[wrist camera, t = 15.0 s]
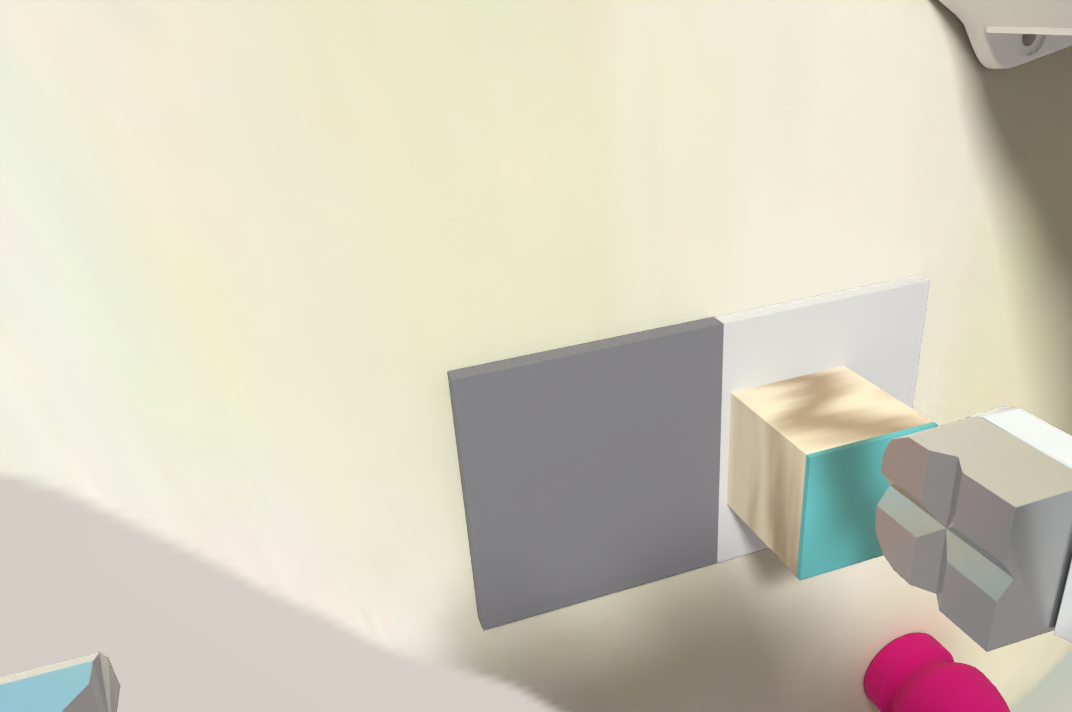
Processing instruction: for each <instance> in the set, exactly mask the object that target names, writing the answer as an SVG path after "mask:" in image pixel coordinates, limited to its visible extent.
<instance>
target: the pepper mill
mask: <svg viewBox="0 0 1072 712" xmlns="http://www.w3.org/2000/svg"><path fill="white" fill-rule="evenodd" d="M864 686H865V692H866V695H867V696H868V698H869V699H870V700H871V701H872V702H873V703H874V704H875V705H876V706H877V708H878V709H879V710H880V711H881V712H1010V710H1009V708H1008V706H1007V704H1006V702H1005V700H1004V699H1003V697H1002V696H1001V694H1000V693H999V691H998V690H997V688H996V687H995V686H994V685H993V684H992V683H991V682H990V681H989V679H988V678H987V677H986V676H985V675H984V674H983V673H982V672H981V671H979V670H978V669H976V668H975V667H972V666H970V665H967V664H963V663H957V662H954V660H953V657H952V655H951V654H950V653H949V652H948V651H947V650H946V649H945V648H944V647H943V646H942V645H941V644H940V643H939V642H938V641H937V640H936V639H935V638H933V637H932V636H930V635H928V634H925V633H912V634H907V635H904V636H902V637H900V638H897V639H895V640H894V641H892V642H891V643H889V644H888V645H887V646H886V647H884V648H883V649H882V650H881V651H880V652H879V653H878V654H877V656H876V657H875V658H874V660H873V661H872V662H871V664H870V666H869V668H868V670H867V672H866V676H865V680H864Z"/></svg>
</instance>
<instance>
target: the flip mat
mask: <svg viewBox="0 0 1072 712" xmlns="http://www.w3.org/2000/svg"><path fill="white" fill-rule="evenodd" d="M929 285H930V281H929V280H927V279H925V278H922V277H920V276H918V275H915V276H910V277H906V278H901V279H896V280H891V281H886V282H881V283H876V284H871V285H867V286H862V287H857V288H852V289H847V290H842V291H837V292H832V293H828V294H823V295H818V296H813V297H808V298H803V299H798V300H793V301H789V302H784V303H779V304H774V305H769V306H764V307H759V308H754V309H750V310H745V311H740V312H735V313H730V314H725V315H720V316H715V317H711V318H706V319H701V320H696V321H691V322H686V323H681V324H676V325H672V326H667V327H662V328H657V329H652V330H647V331H642V332H637V333H633V334H628V335H623V336H618V337H613V338H608V339H603V340H598V341H594V342H589V343H584V344H579V345H574V346H569V347H564V348H559V349H555V350H550V351H545V352H540V353H535V354H530V355H525V356H520V357H516V358H511V359H506V360H501V361H496V362H491V363H486V364H482V365H477V366H472V367H467V368H462V369H457V370H452V371H447V372H448V380H449V388H450V396H451V404H452V412H453V420H454V428H455V436H456V444H457V452H458V460H459V468H460V476H461V483H462V491H463V499H464V507H465V515H466V523H467V531H468V539H469V547H470V555H471V563H472V571H473V579H474V587H475V595H476V603H477V611H478V618H479V621H480V623H481V626H482V628H483V630H487V629H490V628H494V627H497V626H501V625H504V624H508V623H511V622H514V621H518V620H521V619H525V618H528V617H532V616H535V615H539V614H542V613H546V612H549V611H552V610H556V609H559V608H563V607H566V606H570V605H573V604H577V603H580V602H584V601H587V600H591V599H594V598H597V597H601V596H604V595H608V594H611V593H615V592H618V591H622V590H625V589H629V588H632V587H635V586H639V585H642V584H646V583H649V582H653V581H656V580H660V579H663V578H667V577H670V576H673V575H677V574H680V573H684V572H687V571H691V570H694V569H698V568H701V567H705V566H708V565H712V564H715V563H718V562H722V561H725V560H729V559H732V558H736V557H739V556H743V555H746V554H750V553H753V552H756V551H760V550H763V549H767V548H769V547H768V546H767V545H766V544H765V543H764V542H763V541H762V540H761V539H760V538H759V537H758V536H757V535H756V534H755V533H754V532H753V530H752V529H751V528H750V527H749V526H748V525H747V524H746V523H745V522H744V521H743V520H742V519H741V518H740V517H739V516H738V515H737V514H736V513H735V512H734V511H733V510H732V508H731V507H730V506H729V505H728V504H727V479H728V451H729V422H730V393H731V392H734V391H739V390H743V389H747V388H752V387H756V386H760V385H765V384H769V383H773V382H778V381H782V380H786V379H791V378H795V377H800V376H804V375H808V374H813V373H817V372H821V371H826V370H830V369H834V368H839V367H843V366H845V367H847V368H848V369H850V370H852V371H853V372H855V373H856V374H858V375H860V376H861V377H863V378H864V379H866V380H868V381H869V382H871V383H872V384H874V385H875V386H877V387H879V388H880V389H882V390H883V391H885V392H887V393H888V394H890V395H891V396H893V397H895V398H896V399H898V400H899V401H901V402H902V403H904V404H906V405H907V406H909V407H910V408H912V409H913V402H914V394H915V387H916V380H917V373H918V365H919V358H920V351H921V343H922V336H923V329H924V321H925V314H926V307H927V299H928V292H929Z"/></svg>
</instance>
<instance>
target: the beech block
mask: <svg viewBox="0 0 1072 712" xmlns="http://www.w3.org/2000/svg"><path fill="white" fill-rule="evenodd" d="M934 427H938V425H937V424H936V423H934V422H933V421H931V420H929V419H928V418H926V417H925V416H923V415H922V414H920V413H918V412H917V411H915V410H914V409H912V408H910V407H909V406H907V405H906V404H904V403H902V402H901V401H899V400H898V399H896V398H895V397H893V396H891V395H890V394H888V393H887V392H885V391H883V390H882V389H880V388H879V387H877V386H875V385H874V384H872V383H871V382H869V381H868V380H866V379H864V378H863V377H861V376H860V375H858V374H856V373H855V372H853V371H852V370H850V369H848V368H847V367H845V366H843V367H839V368H834V369H830V370H826V371H821V372H817V373H813V374H808V375H804V376H800V377H795V378H791V379H786V380H782V381H778V382H773V383H769V384H765V385H760V386H756V387H752V388H747V389H743V390H739V391H734V392H731V393H730V422H729V451H728V479H727V504H728V505H729V506H730V507H731V508H732V510H733V511H734V512H735V513H736V514H737V515H738V516H739V517H740V518H741V519H742V520H743V521H744V522H745V523H746V524H747V525H748V526H749V527H750V528H751V529H752V530H753V532H754V533H755V534H756V535H757V536H758V537H759V538H760V539H761V540H762V541H763V542H764V543H765V544H766V545H767V546H768V547H769V548H770V549H771V550H772V551H773V553H774V554H775V555H776V556H777V557H778V558H779V559H780V560H781V561H782V562H783V563H784V564H785V565H786V566H787V567H788V568H789V569H790V570H791V571H792V572H793V573H794V575H795V576H796V577H797V578H798V579H799V580H803V579H806V578H810V577H813V576H816V575H820V574H823V573H826V572H830V571H833V570H836V569H840V568H843V567H846V566H850V565H853V564H856V563H859V562H863V561H866V560H869V559H873V558H876V557H879V556H883V553H882V550H881V547H880V544H879V541H878V538H877V535H876V531H875V524H876V510H877V504H878V503H879V501H880V500H881V498H882V497H883V495H884V494H885V492H886V491H887V489H888V488H889V486H890V484H889V483H888V482H887V480H886V479H885V477H884V476H883V475H882V473H881V466H882V458H883V452H884V451H885V449H886V447H887V445H888V444H889V442H890V440H891V439H894V438H898V437H901V436H905V435H909V434H912V433H916V432H919V431H923V430H927V429H930V428H934Z"/></svg>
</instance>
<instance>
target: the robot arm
mask: <svg viewBox="0 0 1072 712" xmlns="http://www.w3.org/2000/svg"><path fill="white" fill-rule="evenodd" d="M939 1H940V2H941V3H942V4H944V5H945V6H946V7H947V8H948V9H949V10H951V11H952V12H953V13H954V14H955V15H956V16H957V17H958V18H959V19H960V20H961V22H962V23H963V24H964V26H965V29H966V31H967V34H968V37H969V40H970V42H971V45H972V47H973V50H974V52H975V54H976V56H977V58H978V60H979V61H980V62H981V64H982V65H983V66H984V67H986V68H988V69H1009V68H1013V67H1016V66H1019V65H1021V64H1024V63H1027V62H1029V61H1032V60H1035V59H1037V58H1040V57H1043V56H1045V55H1048V54H1051V53H1053V52H1056V51H1059V50H1061V49H1064V48H1066V47H1069V46H1072V0H939ZM1023 34H1024V38H1023V40H1022V37H1023ZM881 473H882V475H883V476H884V477H885V479H886V480H887V482H888V483H889V484H890V486H889V488H888V489H887V491H886V492H885V494H884V495H883V497H882V498H881V500H880V501H879V503H878V504H877V510H876V524H875V531H876V535H877V538H878V541H879V544H880V547H881V550H882V553H883V555H884V556H885V558H886V559H887V561H888V562H889V564H890V565H891V567H892V568H893V569H894V570H895V571H896V572H897V573H898V574H899V575H900V576H901V577H902V578H903V579H904V580H905V581H907V582H908V583H909V584H910V585H913V586H916V587H919V588H921V589H924V590H927V591H930V592H933V593H936V595H937V600H938V605H939V610H940V611H941V612H942V613H943V614H944V615H945V616H946V617H947V618H949V619H950V620H951V621H952V622H953V623H954V624H956V625H957V626H958V627H959V628H960V629H961V630H962V631H964V632H965V633H966V634H967V635H968V636H969V637H970V638H972V639H973V640H974V641H975V642H976V643H977V644H979V645H980V646H981V647H982V648H983V649H984V650H985V651H987V652H988V651H991V650H994V649H997V648H1000V647H1003V646H1006V645H1009V644H1013V643H1016V642H1019V641H1022V640H1025V639H1028V638H1031V637H1034V636H1037V635H1040V634H1043V633H1047V632H1050V631H1053V630H1055V631H1054V635H1056V636H1059V637H1061V638H1063V639H1065V640H1068V641H1070V642H1072V436H1071V435H1069V434H1067V433H1065V432H1063V431H1061V430H1060V429H1058V428H1056V427H1054V426H1052V425H1050V424H1048V423H1046V422H1045V421H1043V420H1041V419H1039V418H1037V417H1035V416H1033V415H1031V414H1030V413H1028V412H1026V411H1024V410H1022V409H1020V408H1013V407H1006V406H1002V407H998V408H995V409H992V410H988V411H985V412H982V413H978V414H975V415H972V416H968V417H966V418H965V419H963V420H959V421H956V422H952V423H948V424H945V425H941V426H938V427H934V428H930V429H927V430H923V431H919V432H916V433H912V434H909V435H905V436H901V437H898V438H894V439H891V440H890V442H889V444H888V445H887V447H886V449H885V451H884V452H883V458H882V466H881ZM119 691H120V684H119V682H118V679H117V677H116V675H115V672H114V670H113V668H112V665H111V663H110V660H109V658H108V657H106V656H105V655H103V654H101V653H100V652H99V653H95V654H91V655H87V656H83V657H79V658H75V659H71V660H67V661H63V662H58V663H54V664H51V665H47V666H43V667H38V668H34V669H30V670H27V671H22V672H18V673H14V674H10V675H7V676H2V677H0V712H117V707H118V699H119Z"/></svg>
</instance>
